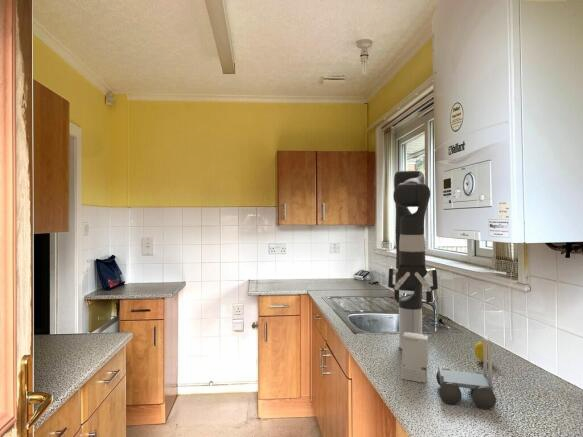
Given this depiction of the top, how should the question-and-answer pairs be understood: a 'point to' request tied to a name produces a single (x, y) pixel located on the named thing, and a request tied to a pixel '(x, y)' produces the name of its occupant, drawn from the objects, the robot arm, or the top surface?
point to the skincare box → (414, 357)
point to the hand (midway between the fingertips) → (412, 302)
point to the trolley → (469, 382)
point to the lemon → (480, 350)
